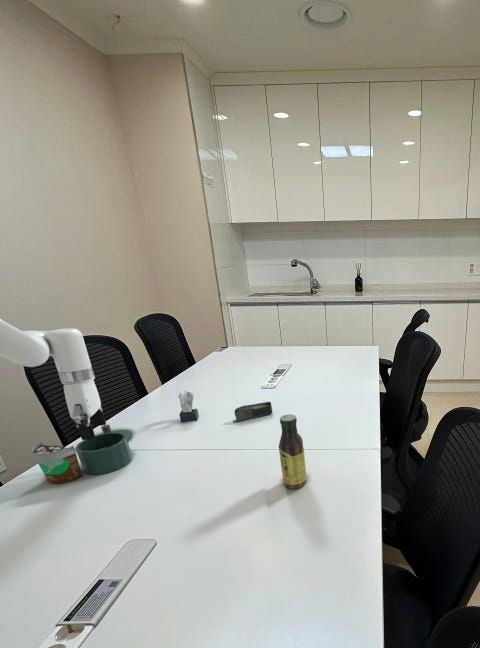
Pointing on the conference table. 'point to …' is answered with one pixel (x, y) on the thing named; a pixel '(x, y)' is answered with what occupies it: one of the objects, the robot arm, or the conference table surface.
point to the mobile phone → (253, 411)
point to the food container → (57, 463)
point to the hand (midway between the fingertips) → (94, 431)
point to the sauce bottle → (291, 453)
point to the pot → (104, 453)
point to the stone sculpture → (187, 407)
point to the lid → (108, 430)
